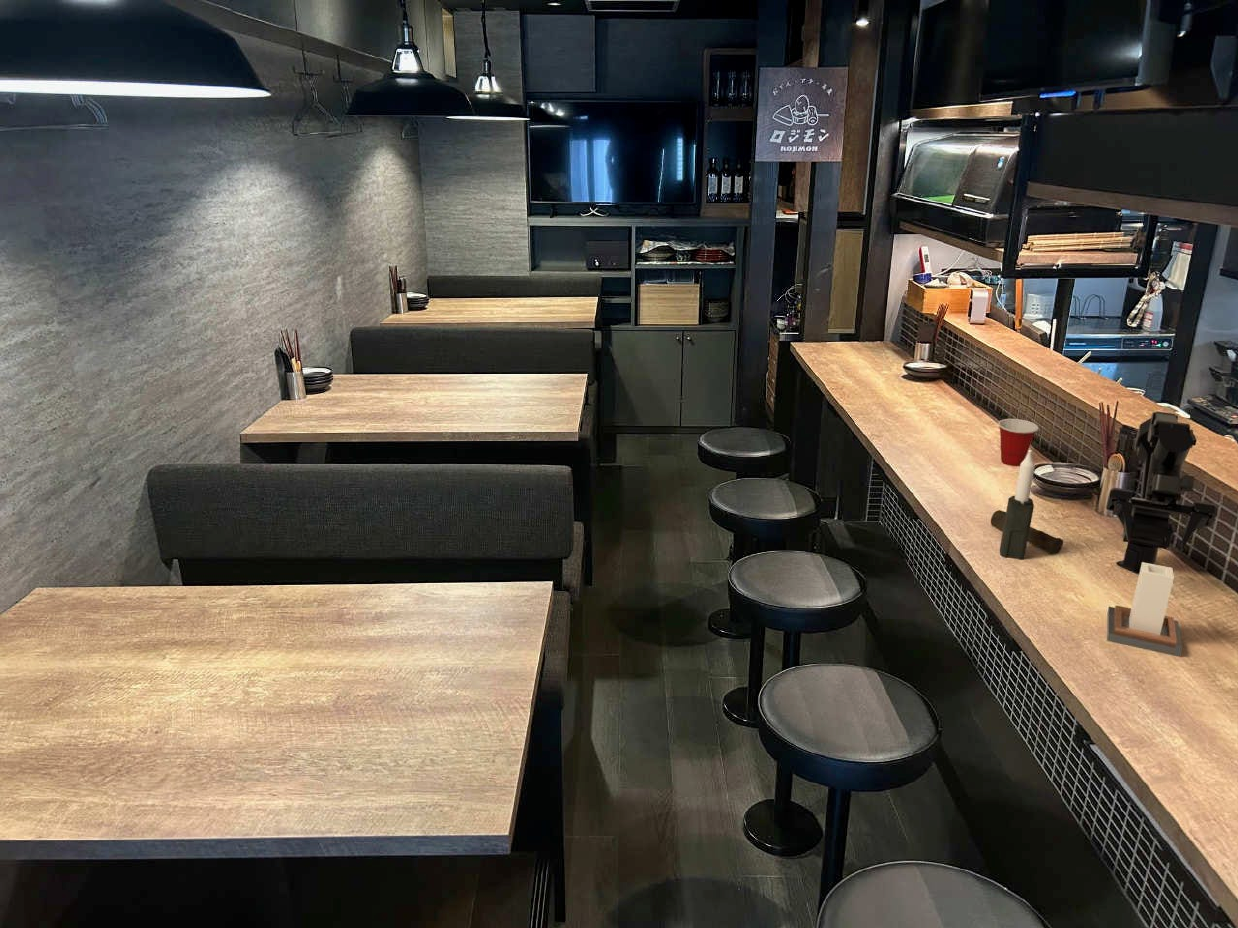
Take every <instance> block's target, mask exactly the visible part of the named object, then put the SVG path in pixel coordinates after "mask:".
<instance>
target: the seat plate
mask: <svg viewBox="0 0 1238 928" xmlns="http://www.w3.org/2000/svg"><path fill="white" fill-rule="evenodd" d="M1131 608H1132V607H1131ZM1131 608H1130V607H1124V606H1121V605H1115V607H1113V606H1108V608H1107V612H1106V613H1107V615H1106V617H1107V618H1106V623H1107V624H1106V629H1107V630H1106V641H1107V642H1108V641H1109V642H1113V643H1116V644H1117V643H1118V644H1122V645H1126V646H1131V647H1135V648H1139V649H1144V650H1148V651H1153V652H1157V653H1162V654H1166V655H1170V654H1171V656H1176V657H1178V658H1179V657H1180V658H1181V654H1182V652H1183V645H1182V639H1181V632H1180V624H1179V620H1176V619H1175V616H1174V617H1173V616H1169V615H1165V616H1164V621H1163V625H1162V629H1161V633H1160V635H1158V634H1154V633H1149V632H1144V631H1140V630H1135V629H1131V628H1129V617H1130V612H1131Z"/></svg>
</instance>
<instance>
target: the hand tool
mask: <svg viewBox="0 0 1238 928" xmlns="http://www.w3.org/2000/svg"><path fill="white" fill-rule="evenodd" d="M1005 516H1006V511H1003V510H1000V509H998V510H995V512H993V514H992V515H991V519H990V525H991V526H993V528H995V529H997V530H998V531H1001V533H1003V527H1004V522H1005ZM1028 542H1029V543H1030V544H1032V545H1035V546H1037V547H1039V548H1041V549H1042V550H1044V551H1047V552H1048V553H1049V555H1050V556H1052V555H1056V554H1059V553H1060V552H1061V550H1062V548H1063V545H1064V540H1063V539H1062V538H1060V537H1056V536H1053V535H1051V534H1049V533H1046V532H1044V531H1043V530H1039V529H1036V528H1034V527H1032V526H1030V530H1029V536H1028V541H1027V543H1028Z"/></svg>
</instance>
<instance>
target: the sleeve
mask: <svg viewBox="0 0 1238 928" xmlns="http://www.w3.org/2000/svg"><path fill="white" fill-rule="evenodd" d="M1174 576H1175V575H1174V571H1173V567H1170V566H1164V565H1159V564H1155V565H1154V564H1149V563H1144V562H1142V565H1141V569H1140V573H1139V574H1138V579H1137V582H1136V587H1135V591H1134V596H1133V600H1132V604H1131V612H1130V617H1129V628H1131V629H1135V630H1140V631H1144V632H1149V633H1154V634H1158V635H1160V633H1161V629H1162V625H1163V621H1164V616H1166V612H1167V608H1168V604H1169V600H1170V597H1171V591H1172V588H1173V583H1174V580H1175V577H1174Z"/></svg>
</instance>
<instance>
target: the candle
mask: <svg viewBox="0 0 1238 928" xmlns="http://www.w3.org/2000/svg"><path fill="white" fill-rule="evenodd" d="M1035 468H1036V465H1035V462H1034V461H1033V450H1032V449H1028V452H1027V454H1026V456H1025V459H1024V461H1022V463H1021V465H1020V466H1019V471H1018V476H1017V477H1018V478H1017V482H1016V489H1015V495H1011V496H1010V497H1008V499H1007V500H1008V501H1007V505H1006V511H1005V512H1006V516H1005V522H1004V527H1003V532H1001V533H1002V534H1001V540H1000V546H999V555H1000V556H1001V557H1003V558H1009V559H1017V560H1021V561H1022V560H1024V559H1025V556H1026V552H1027V546H1028V536H1029V530H1030V527H1031V523H1032V518H1033V514H1034V507H1035V504H1034V500H1033V499H1032V498H1030V496H1031V495H1030V494H1031V491H1032V485H1033V484H1032V483H1033V479H1034V473H1035Z"/></svg>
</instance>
